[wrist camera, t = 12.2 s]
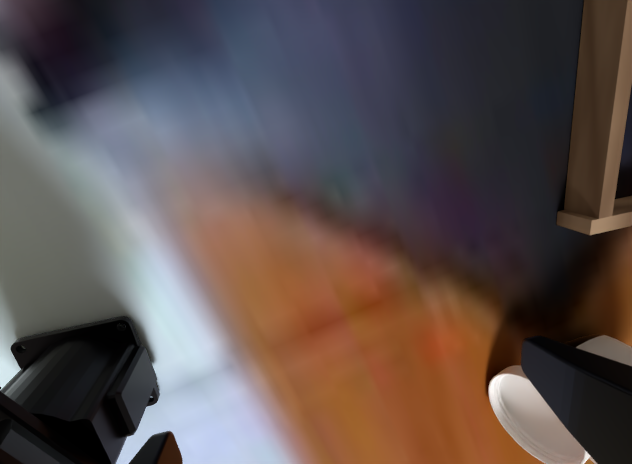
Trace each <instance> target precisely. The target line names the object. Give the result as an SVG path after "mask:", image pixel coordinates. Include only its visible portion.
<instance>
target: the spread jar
mask: <svg viewBox="0 0 632 464" xmlns="http://www.w3.org/2000/svg"><path fill="white" fill-rule="evenodd" d="M563 344H566V345H569V346H572V347H575V348H578V349H581V350H584V351H587V352H590V353H593V354H596V355H599V356H602V357H605V358H608V359H611V360H614V361H617V362H620V363H623V364H626V365H629V366H632V347H630V346H629V345H627V344H625V343H623V342H621V341H619V340H617V339H615V338H612V337H609V336H607V335H601V334H594V335H587V336H583V337H579V338H576V339H574V340H571V341H568V342H566V343H563ZM488 394H489V400H490V403H491V406H492V408H493V410H494V413H495V415H496V416H497V418H498V420H499V421H500V423H501V424H502V426H503V427H504V428H505V430H506V431H507V432H508V433H509V435H510V436H511V437H512V438H513V439H514V440H515V441H516V442H517V443H518V444H519V445H520V446H521V447H523V448H524V449H525V450H526V451H527V452H529V453H530V454H531V455H533V456H534V457H536V458H537V459H539V460H541V461H542V462H544V463H546V464H584V463H585V462H586V461H587V460H588V458H589V459H590V460H591V461H593V462H594V463H595V464H597V463H596V462H595V461H594V459H593V458H592V457H591V456H590V455H589V454H588V453H587V452H586V450H585V449H584V448H583V447H582V446H581V445H580V444H579V443H578V442H577V440H576V439H575V438H574V437H573V436H572V435H571V433H570V432H569V431H568V430H567V429H566V428H565V426H564V425H563V424H562V423H561V421H560V420H559V419H558V417H557V416H556V415H555V413H554V412H553V411H552V410H551V408H550V407H549V406H548V404H547V403H546V402H545V400H544V399H543V398H542V396H541V395H540V394H539V392H538V391H537V390H536V388H535V387H534V386H533V385H532V383H531V382H530V381H529V379H528V378H527V377H526V375H525V374H524V372H523V370H522V368H521V366H518V365H514V366H509V367H507V368H505V369H504V370H502V371H501V372H499V373H498V374H497V375H495V376H494V377H493V378H492V379H491V381H490V383H489V386H488Z"/></svg>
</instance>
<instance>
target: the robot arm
mask: <svg viewBox="0 0 632 464" xmlns="http://www.w3.org/2000/svg"><path fill="white" fill-rule="evenodd" d="M119 324H124V325H125V326H126V327H121V326H120V325H119ZM21 346H24V347H25V348H26V349H24V348H22V347H21ZM11 351H12V353H13V355H14V357H15V359H16V361H17V363H18V364H19V366H20V368H21V370H20V371H19V372H18V373H17V374H16V375H15V376H14V377H13V378H12V379H11V380H10V381H9V382H8V383H7V384H6V385H5V387H4V388H3V389H2V390H1V391H0V464H116V462H117V459H118V457H119V455H120V452H121V450H122V447H123V445H124V443H125V440H126V438H127V436H131V435H134V433H135V432H136V430H137V428H138V426H139V423H140V421H141V418H142V416H143V413H144V411H145V408H146V407H147V406H151V405H154V404H155V403H157V401H158V398H159V396H160V393H159V390H158V387H157V385H156V380H157V377H156V374H155V371H154V369H153V366H152V364H151V361H150V358H149V356H148V353H147V350H146V348H145V347H144V346H142V345H141V343H140V340H139V338H138V335H137V333H136V330H135V327H134V325H133V322H132V320H131V319H130V318H128V317H125V316H122V317H117V318H112V319H107V320H103V321H98V322H93V323H89V324H84V325H80V326H75V327H70V328H66V329H61V330H56V331H52V332H47V333H42V334H38V335H33V336H28V337H24V338H20V339H18V340H17V341H16V342H15V343H14V344H13V345H12V346H11ZM521 368H522V370H523V372H524V374H525V375H526V377H527V378H528V379H529V381H530V382H531V383H532V385H533V386H534V387H535V388H536V390H537V391H538V392H539V394H540V395H541V396H542V398H543V399H544V400H545V402H546V403H547V404H548V406H549V407H550V408H551V410H552V411H553V412H554V413H555V415H556V416H557V417H558V419H559V420H560V421H561V423H562V424H563V425H564V426H565V428H566V429H567V430H568V431H569V432H570V433H571V435H572V436H573V437H574V438H575V439H576V440H577V442H578V443H579V444H580V445H581V446H582V447H583V448H584V449H585V450H586V452H587V453H588V454H589V455H590V456H591V457H592V458H593V459H594V461H595V462H596V463H597V464H632V366H629V365H626V364H623V363H620V362H617V361H614V360H611V359H608V358H605V357H602V356H599V355H596V354H593V353H590V352H587V351H584V350H581V349H578V348H575V347H572V346H569V345H566V344H563V343H560V342H557V341H554V340H551V339H548V338H545V337H542V336H534V337H530V338H526V339H524V340H523V342H522V349H521ZM0 389H1V387H0ZM150 396H152V397H153V398H150ZM129 464H183V462H182V456H181V453H180V450H179V448H178V445H177V442H176V440H175V437H174V435H173V433H172V432H171V431H166V432H162V433H158V434H155V435H153V436H151V437H150V438H149V439H148V441H147V442H146V443H145V444H144V445H143V447H142V448H141V449H140V450H139V452H138V453H137V454H136V455H135V457H134V458H133V459H132V460H131V462H130V463H129Z"/></svg>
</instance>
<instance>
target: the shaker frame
mask: <svg viewBox="0 0 632 464" xmlns="http://www.w3.org/2000/svg"><path fill="white" fill-rule="evenodd" d="M631 84H632V0H584V7H583V18H582V28H581V38H580V49H579V59H578V69H577V80H576V90H575V100H574V111H573V121H572V131H571V142H570V152H569V162H568V173H567V183H566V194H565V204H564V210H562V211H558V213H557V224H556V225H559V226H562V227H565V228H569V229H572V230H575V231H578V232H581V233H585V234H588V235H593V234H597V233H602V232H606V231H611V230H615V229H620V228H624V227H629V226H632V196H628V197H624V198H619V199H615V193H616V186H617V180H618V173H619V166H620V159H621V152H622V145H623V139H624V132H625V125H626V118H627V111H628V104H629V98H630V91H631Z"/></svg>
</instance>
